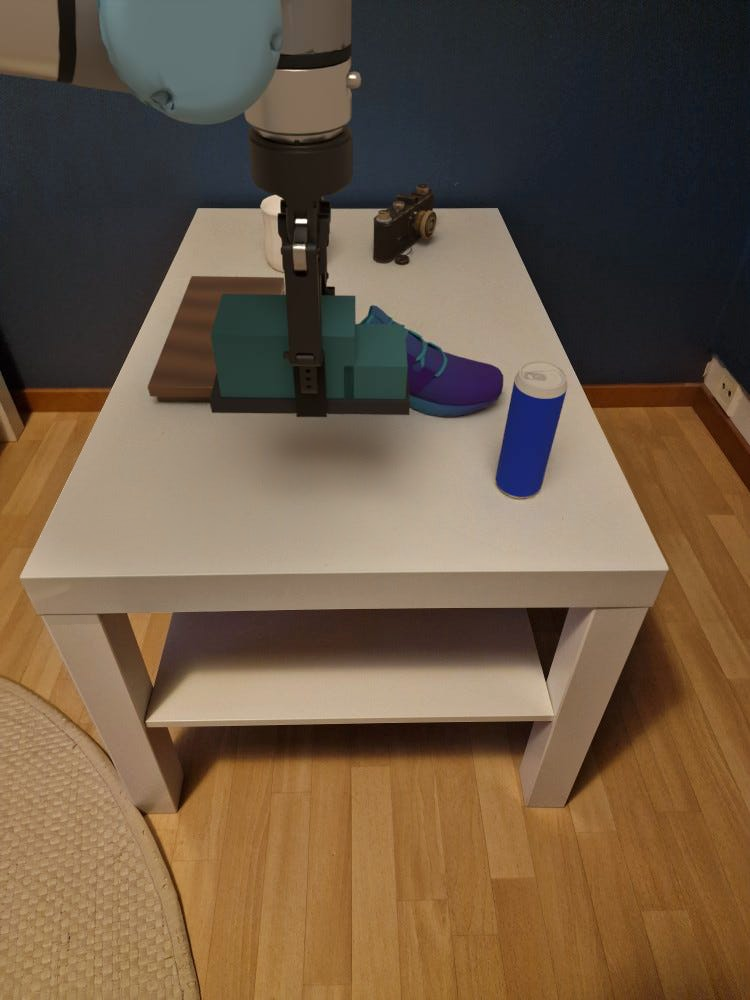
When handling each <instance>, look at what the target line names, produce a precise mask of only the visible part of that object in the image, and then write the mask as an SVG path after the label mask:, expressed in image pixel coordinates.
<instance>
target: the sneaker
mask: <svg viewBox="0 0 750 1000" xmlns="http://www.w3.org/2000/svg"><path fill="white" fill-rule="evenodd" d="M358 324H396V325H402V324H400V323H399V322H397V321H395V320H394V319H393V317H392V316H389V315H388V314H387V313H386V312H385V311H384V310H382V308H380V307H379V306H377V305H374V304H371V305H369V308H368V313H367V316H365V317H364V318H363V319H362V320H361V321H360V322H359V323H358ZM405 338H406V351H407V365H408V382H409V395H410V408H411V409H413V410H414V411H415V410H416V411H418V412H419V413H422V414H425V415H427V416H435V417H436V416H437V417H446V418H447V417H448V418H453V417H458V416H463V415H467V414H470V413H473V412H477V411H479V410H482V409H484V408H486V407H488V406H490V405H492V404H493V403H494V402H496V401H498V399H499V398H500V396H501V395H502V394H503V389H504V374H503V373H502V371H501V369H500V368H499V367H497V366H496V365H493V364H491V363H487V362H482V361H478V360H474V359H470V358H466V357H462V356H458V355H455V354H453V353H450V352H446V351H444V350H443V349H442V348H441V346H438V345H437V344H435V343H433V342H432V341H426V340H424V339H423V336H422V335H420V334H419V333H417V332H415V331H413V330H412V329H408V328H405Z"/></svg>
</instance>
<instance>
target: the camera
mask: <svg viewBox="0 0 750 1000" xmlns="http://www.w3.org/2000/svg"><path fill="white" fill-rule="evenodd" d="M434 196H435V191H434V189H432V188H430V187H429V185H428V184H425V183H420V184H417V185H416V189H415V190H412V192H410V193H397V194H396V196H395V199H396V201H393V202H392V205H391V206H389V207H388V208H386V209H379V210H378V211H377V215H375V216H374V217H373V250H372V251H373V255H372V259H373V261H375V262H377V263H379V264H388V263H391V262H392V261H393V260H394V263H395V264H397V265H400V266H401V265H402V266H403V265H407V264H408V263H409V262H410V257H409V256H408V255H409V254H410V253H411V252H412V250H413V245H414V244H416V243H418V242H419V241H420V240H421V239H423V238H424V239H429V238H431V237H432V235H433V234H434V231H435V230H436V227H437V221H438V220H437V214H436V212H435V211H434V198H435V197H434ZM409 248H410V250H409V252H407V253H406V254H404V252H405V251H407V250H408V249H409Z"/></svg>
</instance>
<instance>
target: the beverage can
mask: <svg viewBox="0 0 750 1000" xmlns="http://www.w3.org/2000/svg"><path fill="white" fill-rule="evenodd" d="M567 391H568V380H567V374H566V371H564V370H563V368H561V367H560V366H558V365H556V364H554V363H552V362H548V361H544V360H534V361H529V362H526V363H524V364H523V365H522V366H521V367H520V368H519V369H518V371H517V372H516V374H515V376H514V380H513V385H512V390H511V396H510V400H509V406H508V411H507V415H506V421H505V426H504V430H503V431H504V432H503V436H502V441H501V447H500V453H499V457H498V462H497V466H496V471H495V472H496V473H495V477H494V478H495V484H496V485H497V487H498V488H499V490H500V491H501V492H502V493H503V494H505V495H507V496H509V497H511V498H513V499H528V498H530V497H532V496H534V495H536V494H537V493H539V491H540V490H541V488H542V485H543V482H544V478H545V475H546V470H547V467H548V462H549V460H550V455H551V452H552V447H553V444H554V440H555V436H556V433H557V430H558V425H559V422H560V417H561V414H562V410H563V406H564V403H565V400H566V399H565V398H566V394H567Z"/></svg>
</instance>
